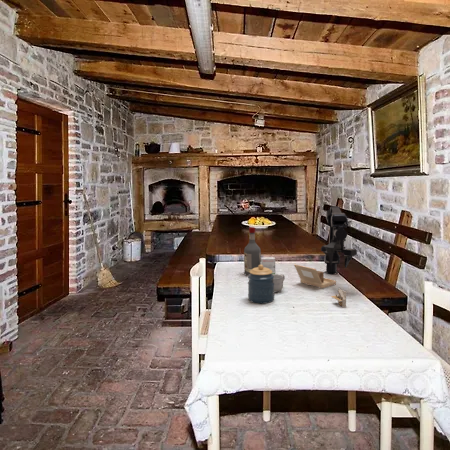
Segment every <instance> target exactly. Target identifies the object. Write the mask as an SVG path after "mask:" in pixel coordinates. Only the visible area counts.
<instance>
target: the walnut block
mask: <svg viewBox="0 0 450 450" xmlns="http://www.w3.org/2000/svg"><path fill="white" fill-rule="evenodd" d="M317 273H318V275H319V277H320V280H321V282H322V283H323V282H324V278H325V277H324V275H325V271H320V270H317Z"/></svg>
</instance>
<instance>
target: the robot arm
mask: <svg viewBox="0 0 450 450" xmlns="http://www.w3.org/2000/svg"><path fill="white" fill-rule="evenodd" d="M340 208H341V207H340V206H337V205H336V206H335V205H334V206H330V208H328V210H326V214H325V219H326V221H327V225H328V226H329V232H328V233H329V234H328V235H329V237H328V244H327V245H322V246H321V248H320V252H322V253H323V254H324V259H323V260H324V264H326V268H325V269H326V270H325V271H324V274H330V275H336V274H339V271H338V269H337V268H338V265H339V264H340V263H341V261H340V260H341V256H340V254H339V253H343V254H344V255H343V257H344V268H345V269H346V268H347V267H348V266H349V263H350V261H351V260H352V259H353V257H355V256H357V255H358V251H357V249H355V248H347V249H346V246H345V242H346V240H347V239H346V238H347V236H348V232H347V230H345V228H348V226H349V218H348V216H347V215H346V213H344V212H342V210H341V209H340ZM335 273H336V274H335Z"/></svg>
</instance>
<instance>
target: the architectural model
mask: <svg viewBox="0 0 450 450" xmlns="http://www.w3.org/2000/svg"><path fill="white" fill-rule="evenodd" d="M337 292H338V294H337V293H335V295H331V296H330V298H332V299H334V300H335V301H337V302H338V304H339V306H340V307H341V306H342V308H346V307H347V291H345V290H343V289H341V288H338V289H337Z"/></svg>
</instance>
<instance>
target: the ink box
mask: <svg viewBox="0 0 450 450" xmlns="http://www.w3.org/2000/svg"><path fill="white" fill-rule="evenodd" d="M261 265H263V267H265V268H269V269H270V270H272V274H276V258H275V257H274V256H273V257H261Z"/></svg>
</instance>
